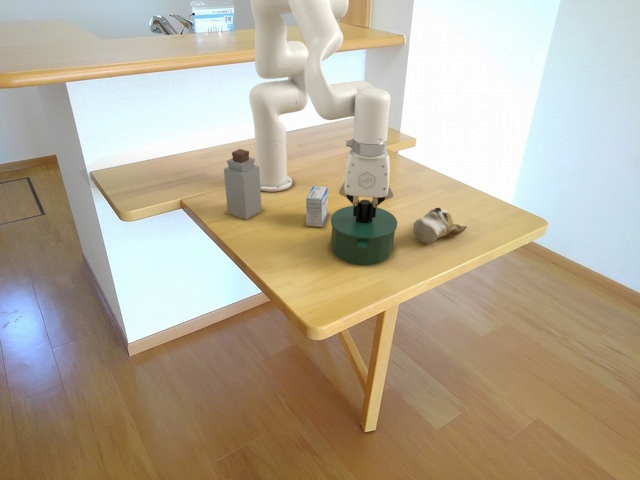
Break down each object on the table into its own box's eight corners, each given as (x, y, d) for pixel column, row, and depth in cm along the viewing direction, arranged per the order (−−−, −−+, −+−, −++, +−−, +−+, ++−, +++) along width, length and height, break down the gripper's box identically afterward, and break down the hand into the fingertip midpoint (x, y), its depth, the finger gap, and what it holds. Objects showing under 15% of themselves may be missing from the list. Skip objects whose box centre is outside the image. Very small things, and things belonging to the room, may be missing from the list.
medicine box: (321, 228, 129) (322, 199, 125) (305, 226, 130) (305, 197, 126) (327, 214, 136) (328, 186, 131) (312, 212, 137) (312, 185, 132)
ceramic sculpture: (405, 207, 121) (440, 193, 130) (400, 236, 125) (434, 222, 134) (439, 223, 114) (474, 208, 124) (433, 254, 119) (466, 237, 128)
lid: (327, 239, 111) (328, 215, 108) (333, 207, 125) (334, 185, 122) (397, 244, 110) (400, 220, 106) (396, 211, 123) (398, 189, 120)
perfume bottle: (246, 219, 133) (242, 158, 123) (227, 213, 136) (222, 153, 126) (261, 210, 138) (258, 150, 128) (243, 204, 141) (238, 145, 131)
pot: (327, 269, 113) (328, 241, 109) (335, 226, 130) (336, 201, 126) (392, 274, 111) (396, 246, 107) (391, 230, 129) (394, 205, 125)
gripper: (331, 150, 104) (329, 224, 114) (406, 154, 103) (397, 229, 112) (334, 139, 111) (332, 209, 120) (405, 143, 109) (397, 214, 119)
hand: (364, 218), depth 116 cm, fingers closed on lid, 2 cm apart
